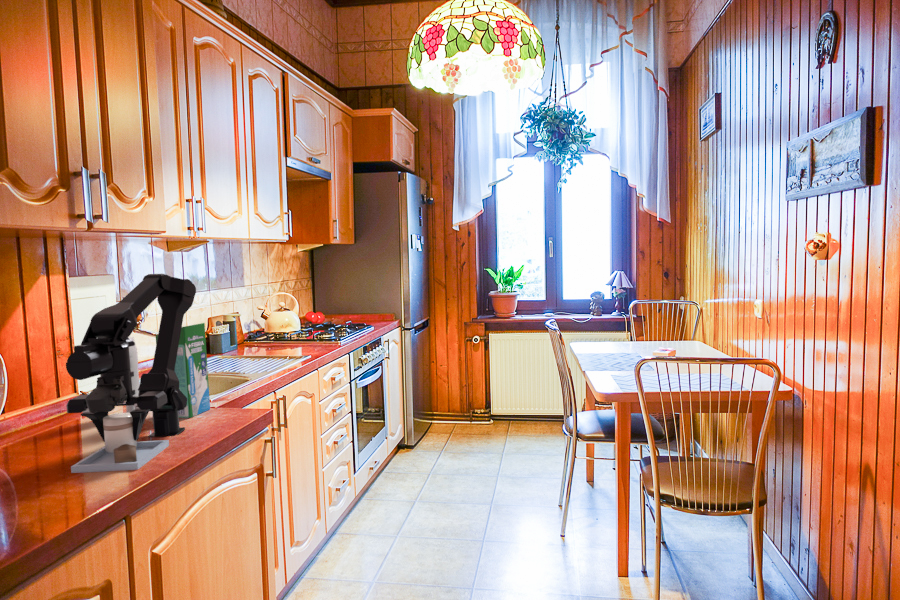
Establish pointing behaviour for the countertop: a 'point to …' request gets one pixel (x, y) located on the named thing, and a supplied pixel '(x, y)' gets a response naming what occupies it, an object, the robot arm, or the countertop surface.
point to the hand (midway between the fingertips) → (121, 440)
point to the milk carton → (193, 370)
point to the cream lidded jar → (118, 431)
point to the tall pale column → (134, 368)
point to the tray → (106, 462)
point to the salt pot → (125, 454)
